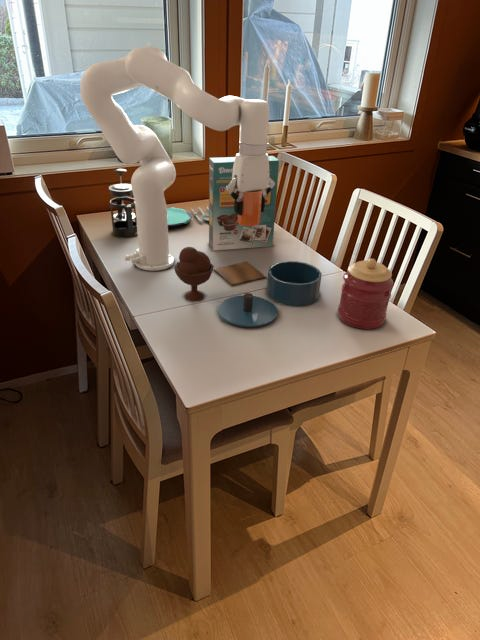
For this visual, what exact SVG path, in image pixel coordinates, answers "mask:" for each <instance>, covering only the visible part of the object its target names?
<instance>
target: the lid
mask: <svg viewBox="0 0 480 640" xmlns="http://www.w3.org/2000/svg"><path fill="white" fill-rule="evenodd" d="M217 315H218V316H219V317H220V319H222V320H223V321H224V322H226V323H228V324H231V325H233V326H237V327H243V328H257V327H258V328H259V327H263V326H265V325H269V324H270V323H272V322H273V321H275V320H276V318H277V316H278V308H277V306H276V305H275V304H274V303H273V302H272V301H270V300H268V299H265V298H264V297H261V296H256V295H254V294H253V293H251V292H245V293H243V295H242V294H241V295H234V296H231V297H228V298H226V299H224V300H222V301H221V302H220V303H219V304H218V305H217Z"/></svg>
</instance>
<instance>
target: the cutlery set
mask: <svg viewBox="0 0 480 640" xmlns="http://www.w3.org/2000/svg"><path fill="white" fill-rule="evenodd" d="M197 209H198V211H200V213H201V214H202V219H203V220H204V221H207V222H209V215H206V214H205V213H204V211H203V209H202V208H201V207H200V206H199V207H197ZM205 209H206V210H207V211H208V212H209V206H205ZM190 211H192V213H193V215H194V217H195V218H196V219H197V221H198V222H200V223H203V222H202V221H203V220H202V219H201V218H200V217H199V215H198V213H197V212H195V211H194V209H193V208H190ZM167 218H168V227H177V226H181V225H187V224H188V223H190V222H191V221H192V214H191V213H189V212H188V211H187V210H185V209H184V208H180V207H173V206H171V207H167Z"/></svg>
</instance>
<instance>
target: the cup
mask: <svg viewBox="0 0 480 640" xmlns="http://www.w3.org/2000/svg"><path fill="white" fill-rule="evenodd" d="M239 193H240V192H239ZM243 193H244V195H243V197H242V199H241V201H242V202H243V207H242V215H238V223H239V224H240V225H243V226H257V225H259V224H260V216H261V202H262V190H258V191H251V192H243Z"/></svg>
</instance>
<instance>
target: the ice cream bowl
mask: <svg viewBox="0 0 480 640" xmlns="http://www.w3.org/2000/svg"><path fill="white" fill-rule="evenodd" d="M178 259H179V261H177V262H176V263H175V265H174V266H173V269H174V273H175V274H176V276H177V278H178V279H179V280H180V281H181V282H182V283H184V284H186V285H189V286H190V290H188V291H186V293H185V294H184V298H185V299H186V300H188V301H190V302H199V301H200V300H203V299H204V297H205V294H204V293H203V292H202V291H200V290H199V289H198V286H200V285H203V284H205V283H206V282H208V280H210V278H211V276H212V274H213V272H214V267H215V266H214V264H213V263H211V259H210V257H209V256H208V255H207V254H206V253H205V252H204V251H201V250H197V249H196V248H195V247H192V246H185V247H183V248H182V249H181V250H180V252H179V256H178Z"/></svg>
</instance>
